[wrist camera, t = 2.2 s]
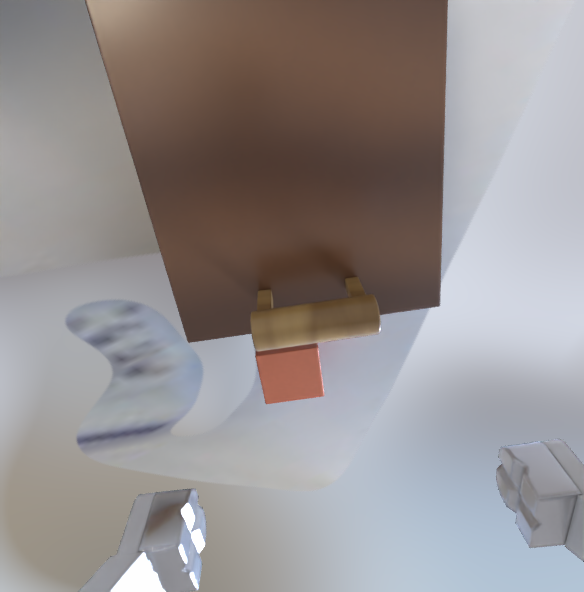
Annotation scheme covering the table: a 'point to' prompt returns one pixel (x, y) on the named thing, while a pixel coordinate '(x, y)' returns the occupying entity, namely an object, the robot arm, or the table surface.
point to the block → (290, 373)
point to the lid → (286, 157)
